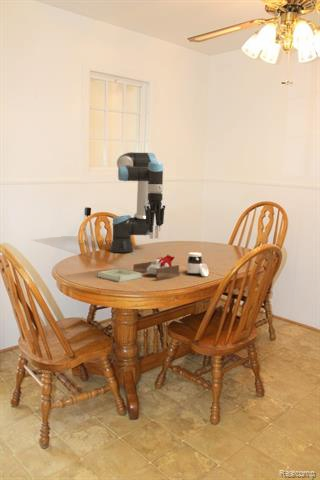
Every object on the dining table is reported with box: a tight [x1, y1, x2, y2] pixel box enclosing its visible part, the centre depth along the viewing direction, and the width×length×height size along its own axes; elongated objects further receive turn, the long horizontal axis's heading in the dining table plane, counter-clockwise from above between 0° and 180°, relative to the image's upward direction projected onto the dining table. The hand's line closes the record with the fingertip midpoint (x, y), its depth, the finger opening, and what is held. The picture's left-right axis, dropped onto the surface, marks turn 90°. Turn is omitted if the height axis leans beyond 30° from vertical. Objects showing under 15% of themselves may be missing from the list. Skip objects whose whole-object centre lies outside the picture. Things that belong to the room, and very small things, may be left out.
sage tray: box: [97, 268, 143, 283], centre depth 213 cm, size 17×15×3 cm
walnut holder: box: [132, 261, 181, 282], centre depth 218 cm, size 18×17×6 cm
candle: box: [146, 254, 175, 276], centre depth 218 cm, size 9×11×15 cm
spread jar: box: [187, 252, 209, 278], centre depth 222 cm, size 12×11×12 cm
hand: (154, 238), depth 215 cm, fingers open, 3 cm apart
